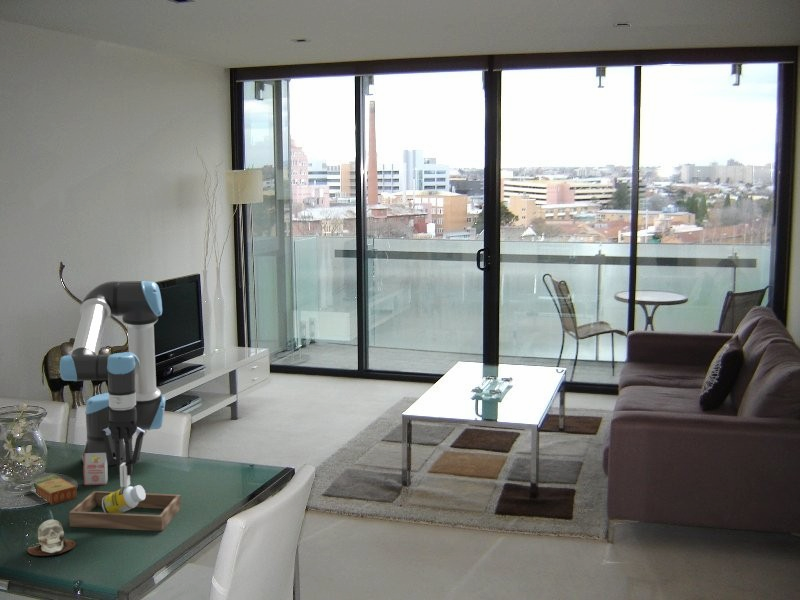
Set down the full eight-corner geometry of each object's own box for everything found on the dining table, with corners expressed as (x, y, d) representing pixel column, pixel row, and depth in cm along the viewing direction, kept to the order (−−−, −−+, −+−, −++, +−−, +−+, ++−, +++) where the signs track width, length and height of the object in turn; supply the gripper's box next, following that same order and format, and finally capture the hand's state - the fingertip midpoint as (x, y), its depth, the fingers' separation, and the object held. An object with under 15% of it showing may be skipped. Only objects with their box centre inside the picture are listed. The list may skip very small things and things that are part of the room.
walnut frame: (94, 504, 265) (93, 491, 265) (181, 508, 263) (180, 494, 263) (69, 526, 248) (69, 512, 248) (162, 530, 247) (161, 516, 246)
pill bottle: (103, 492, 257) (136, 477, 255) (116, 506, 260) (149, 491, 258) (98, 507, 252) (132, 492, 250) (111, 521, 255) (145, 507, 253)
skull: (81, 549, 232) (52, 526, 228) (51, 578, 230) (22, 556, 225) (77, 530, 242) (49, 508, 238) (48, 558, 240) (20, 537, 236)
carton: (50, 506, 264) (50, 492, 264) (29, 492, 275) (28, 479, 275) (77, 498, 270) (76, 485, 269) (55, 485, 281) (54, 472, 281)
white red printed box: (86, 481, 285) (85, 451, 283) (107, 480, 286) (106, 451, 284) (84, 485, 281) (82, 455, 280) (105, 484, 282) (104, 454, 281)
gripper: (94, 409, 248) (97, 489, 251) (140, 411, 247) (143, 490, 250) (105, 403, 255) (107, 480, 258) (150, 404, 254) (152, 481, 258)
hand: (125, 485), depth 254 cm, fingers closed
